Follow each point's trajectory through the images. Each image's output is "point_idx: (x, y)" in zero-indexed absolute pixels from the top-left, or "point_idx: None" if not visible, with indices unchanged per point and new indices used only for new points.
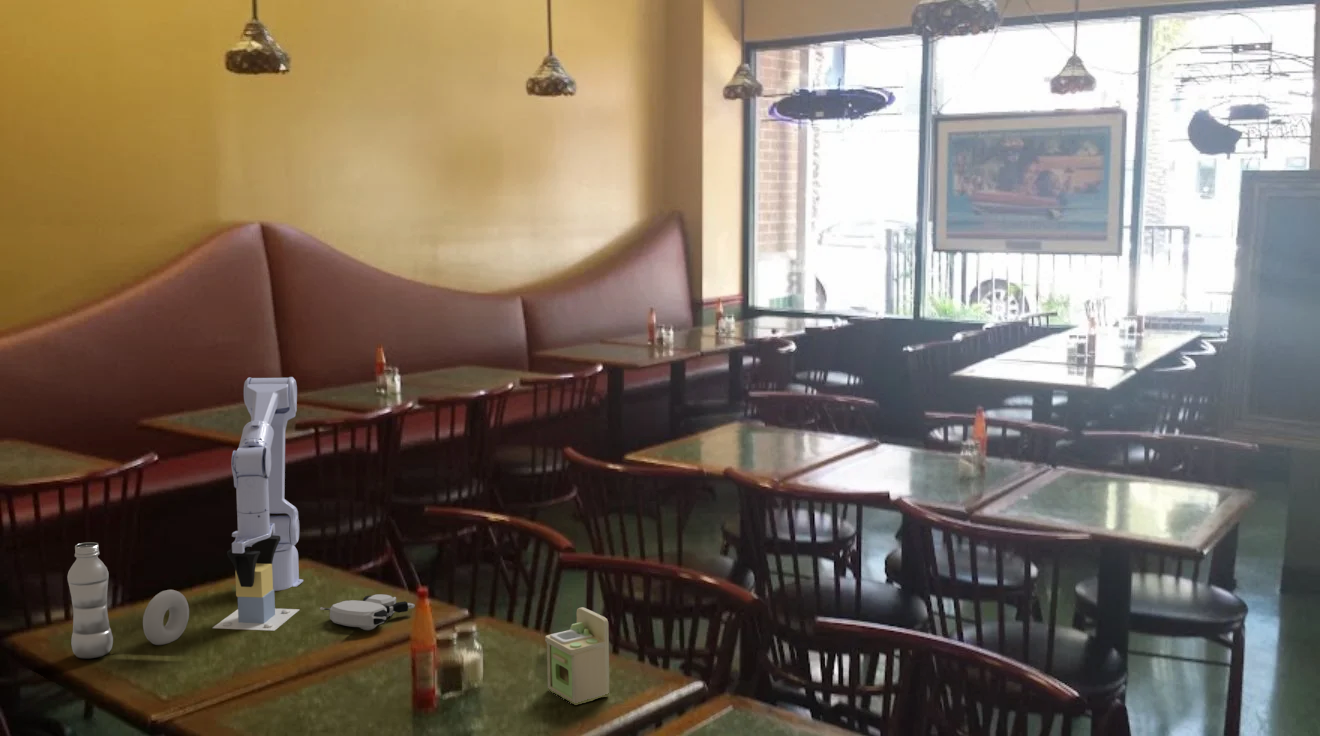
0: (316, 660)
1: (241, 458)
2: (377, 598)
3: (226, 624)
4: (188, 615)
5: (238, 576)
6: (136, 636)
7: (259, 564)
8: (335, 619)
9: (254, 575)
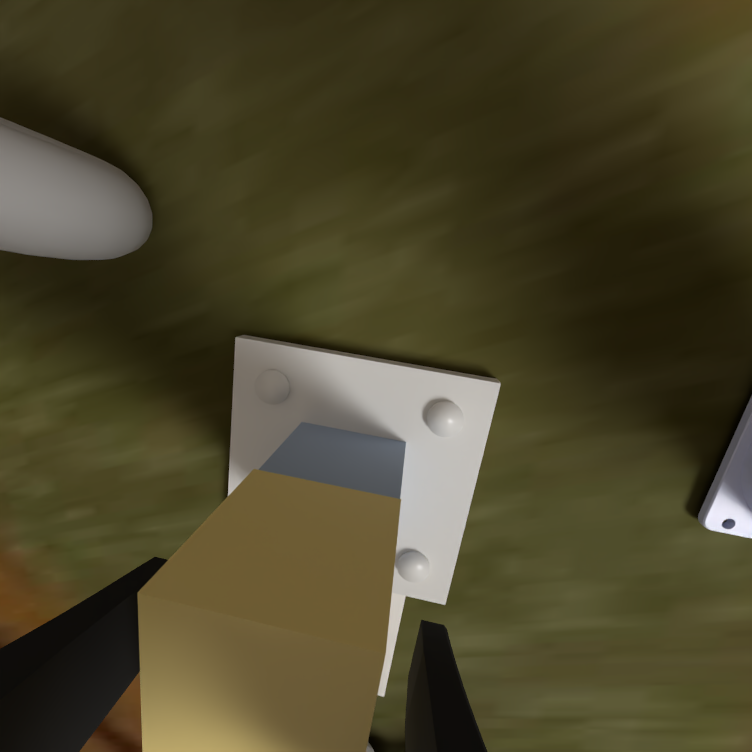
0: None
1: None
2: None
3: (257, 388)
4: (91, 259)
5: (72, 610)
6: (173, 4)
7: (338, 746)
8: None
9: (111, 706)
